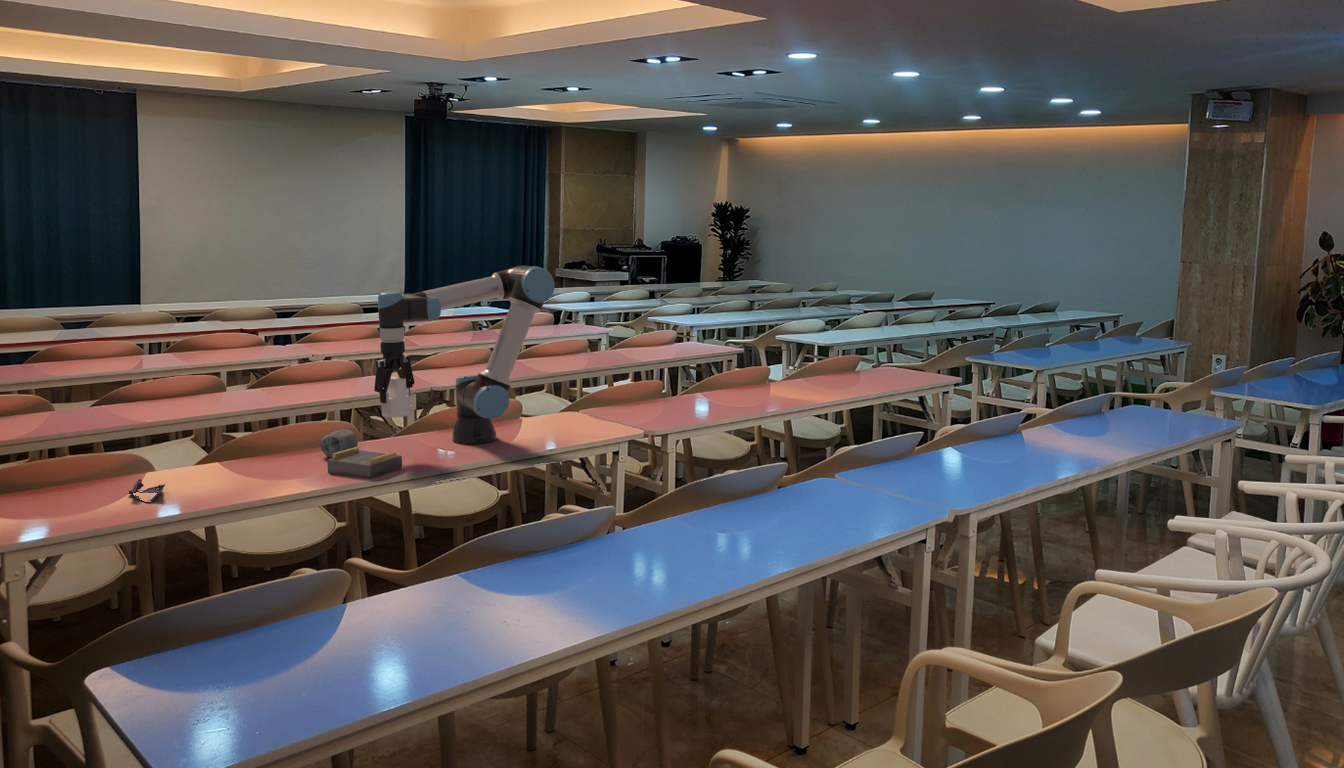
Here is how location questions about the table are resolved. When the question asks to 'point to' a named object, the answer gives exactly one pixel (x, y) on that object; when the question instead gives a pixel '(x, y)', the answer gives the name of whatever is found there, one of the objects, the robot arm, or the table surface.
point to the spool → (338, 442)
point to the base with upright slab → (398, 398)
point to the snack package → (139, 485)
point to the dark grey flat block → (363, 463)
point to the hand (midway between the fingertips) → (396, 410)
